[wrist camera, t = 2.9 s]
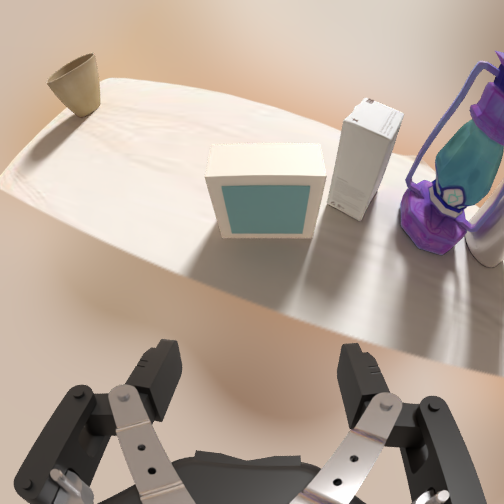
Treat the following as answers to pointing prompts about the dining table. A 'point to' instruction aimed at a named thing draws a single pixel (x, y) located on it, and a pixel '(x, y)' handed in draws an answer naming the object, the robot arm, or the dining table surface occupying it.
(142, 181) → the dining table surface
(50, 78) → the plant pot
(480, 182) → the lantern
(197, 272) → the dining table surface
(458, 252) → the dining table surface
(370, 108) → the skincare box
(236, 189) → the block
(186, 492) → the robot arm
